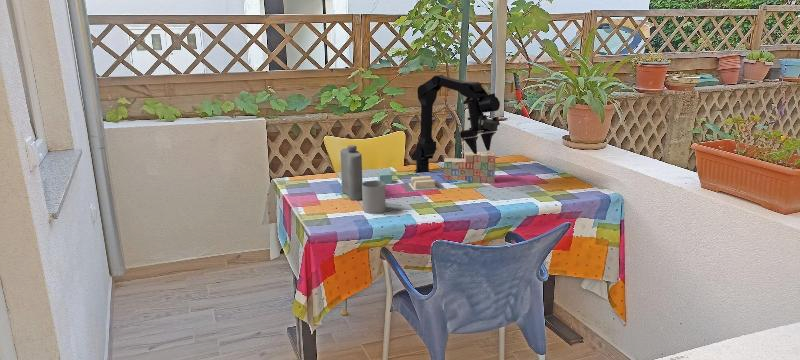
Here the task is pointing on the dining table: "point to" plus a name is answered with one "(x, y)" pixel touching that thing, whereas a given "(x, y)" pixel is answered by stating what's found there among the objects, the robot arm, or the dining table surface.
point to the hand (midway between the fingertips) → (482, 152)
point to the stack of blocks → (471, 168)
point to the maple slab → (422, 182)
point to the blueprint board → (409, 188)
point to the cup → (373, 197)
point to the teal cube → (385, 177)
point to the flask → (351, 172)
